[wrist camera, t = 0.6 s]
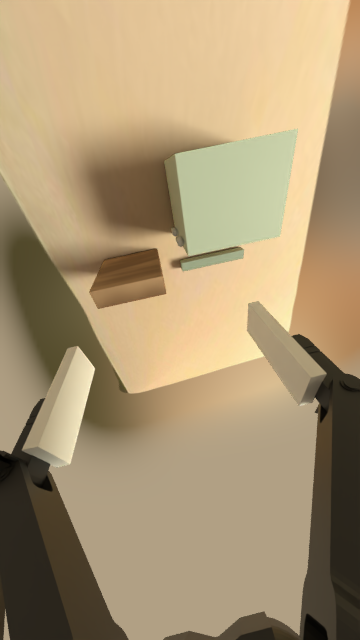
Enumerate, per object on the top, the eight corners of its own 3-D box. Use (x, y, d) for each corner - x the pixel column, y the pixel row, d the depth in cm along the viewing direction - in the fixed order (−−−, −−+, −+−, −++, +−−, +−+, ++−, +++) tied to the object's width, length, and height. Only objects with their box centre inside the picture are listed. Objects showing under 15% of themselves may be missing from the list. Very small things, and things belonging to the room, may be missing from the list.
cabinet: (157, 162, 25) (165, 155, 16) (244, 144, 25) (298, 128, 16) (177, 269, 34) (188, 300, 25) (239, 255, 34) (272, 282, 26)
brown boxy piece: (104, 259, 31) (89, 292, 22) (157, 248, 31) (162, 276, 23) (112, 278, 33) (101, 314, 25) (161, 268, 33) (167, 300, 25)
